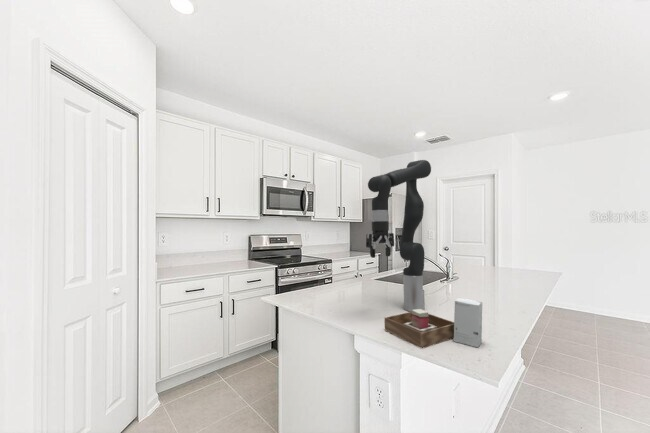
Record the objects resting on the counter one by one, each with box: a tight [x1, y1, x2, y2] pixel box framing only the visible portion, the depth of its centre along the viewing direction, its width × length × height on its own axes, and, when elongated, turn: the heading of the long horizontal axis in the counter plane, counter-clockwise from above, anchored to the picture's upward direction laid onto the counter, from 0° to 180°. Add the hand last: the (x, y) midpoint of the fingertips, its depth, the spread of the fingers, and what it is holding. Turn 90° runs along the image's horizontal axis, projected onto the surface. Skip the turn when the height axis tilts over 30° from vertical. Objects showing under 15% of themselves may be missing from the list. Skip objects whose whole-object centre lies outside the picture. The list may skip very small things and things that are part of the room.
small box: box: [412, 309, 429, 329], centre depth 110 cm, size 5×4×8 cm
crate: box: [384, 311, 454, 349], centre depth 110 cm, size 19×19×5 cm
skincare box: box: [453, 297, 483, 348], centre depth 101 cm, size 8×6×15 cm
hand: (380, 256), depth 125 cm, fingers open, 8 cm apart
